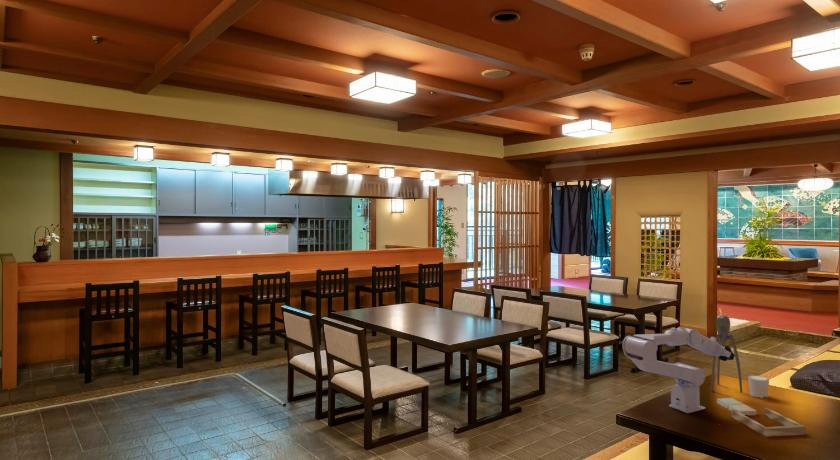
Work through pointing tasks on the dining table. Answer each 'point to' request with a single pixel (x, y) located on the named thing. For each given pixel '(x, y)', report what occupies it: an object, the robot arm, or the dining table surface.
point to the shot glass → (758, 386)
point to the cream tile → (743, 409)
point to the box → (787, 429)
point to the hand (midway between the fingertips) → (723, 353)
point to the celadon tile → (728, 402)
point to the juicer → (722, 337)
